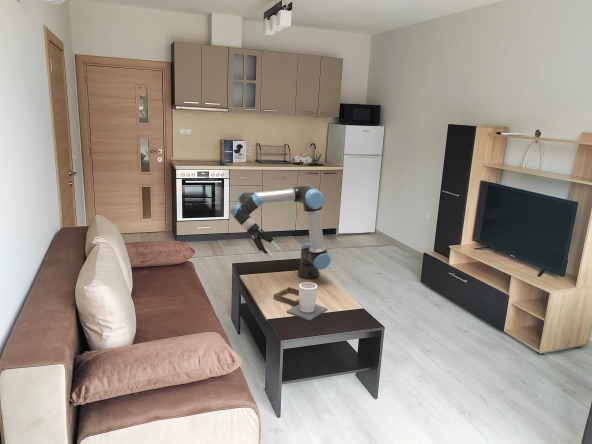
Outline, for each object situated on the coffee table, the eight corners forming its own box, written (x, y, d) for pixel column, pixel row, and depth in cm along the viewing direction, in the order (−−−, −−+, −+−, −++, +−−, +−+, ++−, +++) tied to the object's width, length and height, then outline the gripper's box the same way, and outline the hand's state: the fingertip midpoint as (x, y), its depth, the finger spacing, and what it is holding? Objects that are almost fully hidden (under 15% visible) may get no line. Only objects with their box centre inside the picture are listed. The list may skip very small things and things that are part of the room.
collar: (289, 291, 288) (289, 286, 287) (310, 298, 279) (310, 293, 278) (273, 298, 276) (273, 294, 275) (295, 306, 267) (295, 301, 266)
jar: (314, 314, 255) (315, 290, 251) (296, 312, 257) (297, 287, 253) (317, 306, 265) (318, 283, 261) (300, 304, 267) (301, 281, 263)
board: (305, 302, 273) (305, 300, 273) (327, 310, 264) (327, 308, 264) (286, 312, 259) (286, 310, 259) (309, 320, 250) (309, 319, 250)
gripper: (254, 225, 282) (276, 251, 282) (238, 236, 259) (263, 264, 259) (262, 217, 279) (285, 243, 279) (247, 228, 256) (272, 256, 256)
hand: (274, 253), depth 269 cm, fingers open, 13 cm apart
